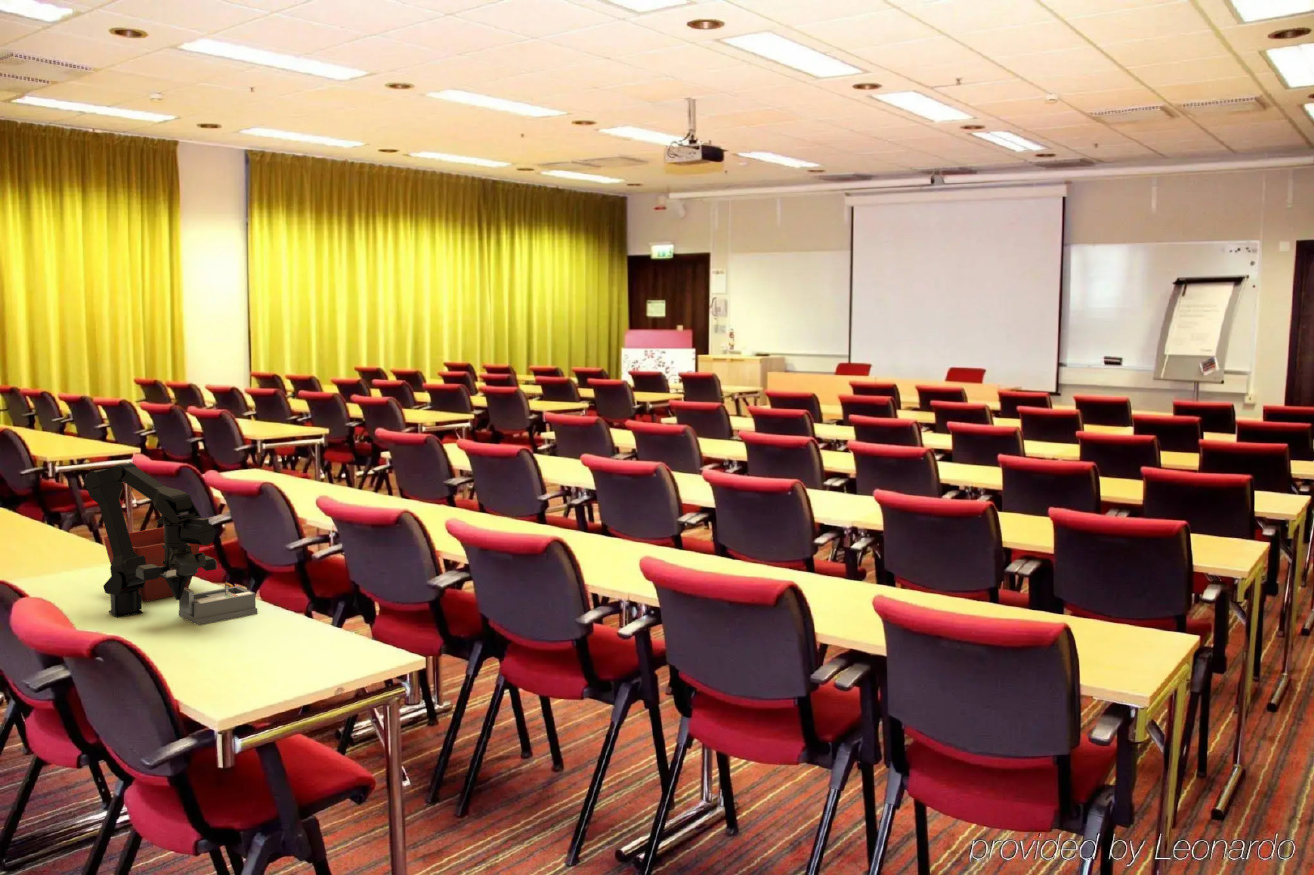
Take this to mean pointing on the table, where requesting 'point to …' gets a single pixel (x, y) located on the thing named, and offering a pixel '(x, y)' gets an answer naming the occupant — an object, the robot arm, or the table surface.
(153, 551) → the plant pot
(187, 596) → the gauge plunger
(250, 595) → the gauge frame
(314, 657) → the table surface
